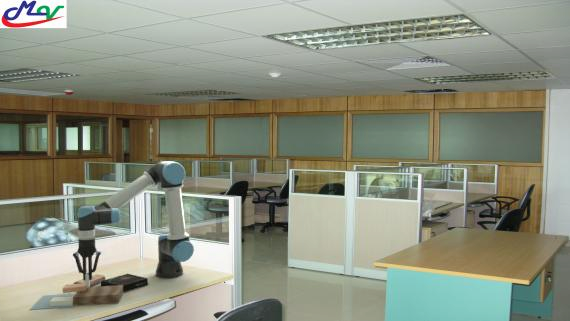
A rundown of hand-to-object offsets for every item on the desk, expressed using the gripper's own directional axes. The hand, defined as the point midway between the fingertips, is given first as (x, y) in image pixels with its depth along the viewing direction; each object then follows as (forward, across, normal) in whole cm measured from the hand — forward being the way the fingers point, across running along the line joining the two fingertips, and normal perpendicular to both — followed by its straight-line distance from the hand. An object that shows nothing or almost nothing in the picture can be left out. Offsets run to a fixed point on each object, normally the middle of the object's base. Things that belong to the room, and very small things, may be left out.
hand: (87, 286), depth 237 cm
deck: (+5, +6, -4) cm, 9 cm away
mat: (+5, -13, -3) cm, 15 cm away
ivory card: (+5, -10, -8) cm, 13 cm away
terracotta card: (+1, -6, 0) cm, 6 cm away
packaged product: (+6, -3, +19) cm, 20 cm away
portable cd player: (+6, +15, +16) cm, 22 cm away
